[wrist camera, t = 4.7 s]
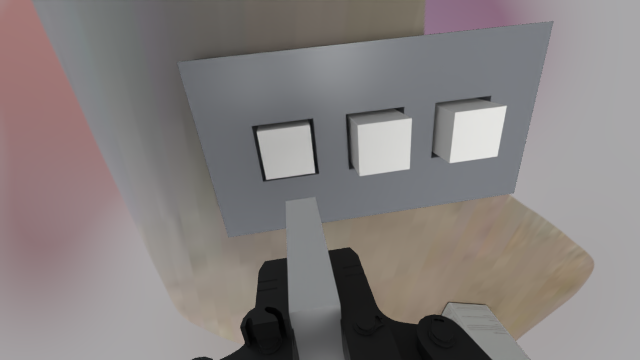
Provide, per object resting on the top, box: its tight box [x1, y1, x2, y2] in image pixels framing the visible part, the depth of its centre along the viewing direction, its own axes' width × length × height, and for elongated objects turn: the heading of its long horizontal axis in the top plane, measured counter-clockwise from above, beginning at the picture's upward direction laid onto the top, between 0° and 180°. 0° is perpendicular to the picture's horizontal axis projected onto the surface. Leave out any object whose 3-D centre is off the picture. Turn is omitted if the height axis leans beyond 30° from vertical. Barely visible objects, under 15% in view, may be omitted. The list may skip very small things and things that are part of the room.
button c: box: [432, 98, 507, 163], centre depth 25 cm, size 4×4×4 cm
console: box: [177, 21, 553, 237], centre depth 27 cm, size 16×30×5 cm, turn 96°
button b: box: [346, 108, 412, 176], centre depth 25 cm, size 4×4×4 cm
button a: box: [257, 119, 315, 180], centre depth 26 cm, size 4×4×4 cm
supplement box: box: [442, 303, 530, 360], centre depth 40 cm, size 7×7×13 cm
